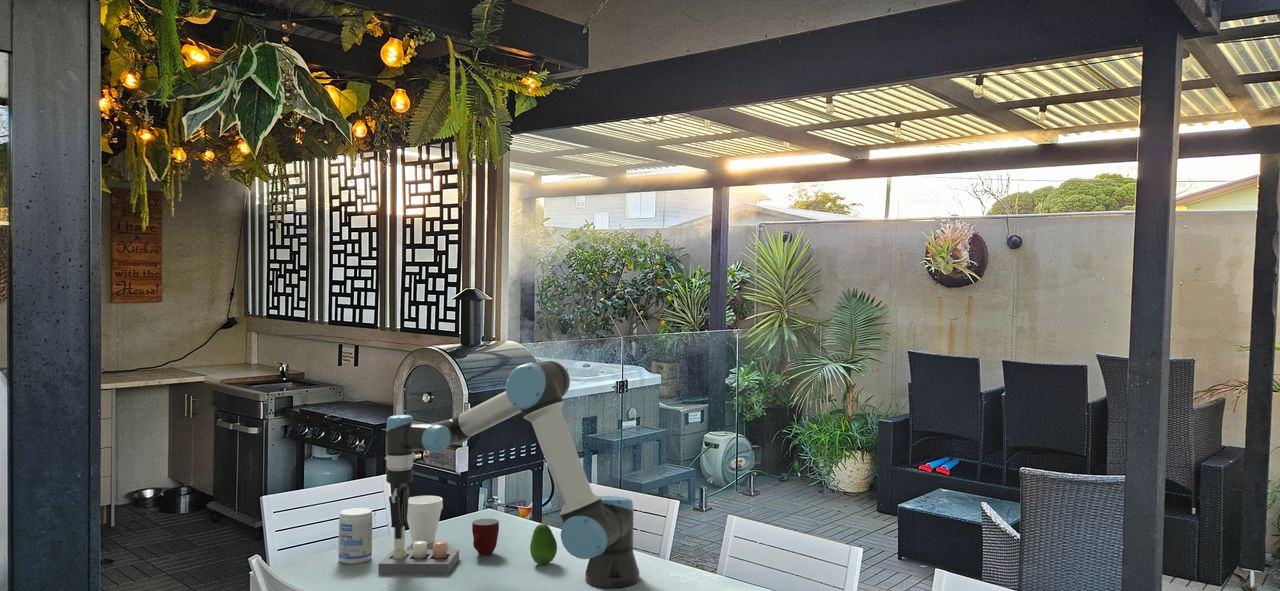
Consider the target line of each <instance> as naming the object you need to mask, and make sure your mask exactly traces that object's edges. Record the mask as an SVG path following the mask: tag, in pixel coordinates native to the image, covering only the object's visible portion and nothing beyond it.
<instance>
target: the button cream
mask: <svg viewBox="0 0 1280 591" xmlns="http://www.w3.org/2000/svg"><path fill="white" fill-rule="evenodd" d="M427 545H428V544H427V542H426V541H416V542H414V543H413V542H412V550H413V558H417V559H419V558H425V557H427V550H428V546H427Z"/></svg>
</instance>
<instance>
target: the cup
mask: <svg viewBox="0 0 1280 591" xmlns="http://www.w3.org/2000/svg"><path fill="white" fill-rule="evenodd" d="M443 503H444V502H443V498H442V497H441V496H438V495H417V496H410V497H409V499H408V514H407V521H406V522H407V523H408V525H407V526H408V528H409V532H410V537H411V542H412V544H413V543H414V542H416V541H426V542H427V545H430V544H433V543H434V542H435V540H436V534H437V532H438V528H439V527H438V526H439V521H440V519H441V518H440V517H441V514H442V513H441V512H442V510H443V508H444V506H443Z"/></svg>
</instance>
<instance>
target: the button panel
mask: <svg viewBox="0 0 1280 591" xmlns="http://www.w3.org/2000/svg"><path fill="white" fill-rule="evenodd" d="M459 561H460V549H447V557H446V558H441V559H436V558H433V549H427V557H425V558H419V559H417V558H413V549H407V558H406V559H393V549H392V550H391V551H390V552H389V553H388V554H386V555H385V557H384V558H382V559H381V560H380V561H379V562H378V564H377V565H378V566H377V568H378V571H377V572H378V575H449V574H450V572H451V571H452V569H453V570H454V567H455V566H456V564H458V562H459Z"/></svg>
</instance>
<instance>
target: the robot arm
mask: <svg viewBox="0 0 1280 591" xmlns="http://www.w3.org/2000/svg"><path fill="white" fill-rule="evenodd" d="M570 381H571V379H570V374H569V372H568V370H567V368H565V366H564V365H562V364H561V363H559V362H558V361H553V360H545V361H537V362H528V363H523V364H521V365H518V366H516V367H515V368H514V369H513V370H512V371H511V372H510V374H509V375H508V376H507V380H506V382H505V383H506V384H505V391H504V392H501V393H499V394H497V395H495V396H493V397H491V398H489V399H487V400H486V401H483V402H482V403H479V404H478V405H475V406H474V407H471V408H470V409H467V410H465V411H463V412H462V413H460V414H458V415H456V416H454V417H452V418H449V419H446V420H442V421H438V422H433V423H432V422H431V423H415V422H414V418H413V416H412V415H409V414H397V415H391V416H389V417H388V418H387V420H386V428H385V429H386V430H385V433H386V434H385V435H386V436H385V437H386V456H385V457H384V460H385V461H386V468H387V470H386V472H385V475H386V477H385V478H386V479H385V481H386V482H387V483H388V484H391V485H392V488H391V489H390V496H388V501H389V508H390V518H391V519H390V520H391V523H390V524H391V525H390V527H391V528H393V533H394V534H393V539H394V540H393V545H394V546H393V549H404V548H406V544H405V542H406V526H409V525H408V521H407V514H408V499H409V498H410V497H409V496H410V491H411V489H410V487H408V483H411V482H413V479H414V478H413V477H414V476H413V475H414V473H413V472H414V469H413V467H414V450H416V451H427V452H431V453H434V452H443V451H445V450H446V449H447V448H448V447H449V446H451V445H455V444H461V443H463V442H464V443H465V442H466V441H467V440H470V438H471V437H472V436H474V435H476V434H479V433H481V432H483V431H485V430H487V429H489V428H491V427H493V426H496V425H497V424H499V423H501V422H503V421H506V420H507V419H510V418H512V417H514V416H515V415H518V414H522V417H523V419H525V420H526V421H528V422H530V423H531V425H532V427H533V430H534V433H535V435H536V439H537V441H538V443H539V447H540V449H541V451H542V454H543V457H544V460H545V462H546V465H547V467H548V470H549V472H550V475H551V478H552V480H553V483H554V485H555V488H556V491H557V494H558V497H559V499H560V501H561V505H562V508H561V510H560V513H559V515H560V519H561V520H562V523H563V524H562V527H561V530H560V539H561V540H560V541H561V542H562V546H563V547H564V548H565V550H566V551H567V553H569V554H570V555H571V556H573V557H575V558H577V559H581V560H588V563H587V567H586V569H585V572H584V573H585V577H584V578H585V582H586V583H587V584H588V585H591V586H595V587H597V588H606V589H607V588H609V589H615V588H617V589H619V588H624V587H629V586H632V585H633V586H634V585H635V584H637V583H638V582H639V581H640V569H639V567H638V563H637V560H636V557H635V553H634V512H635V510H634V505H633V504H634V502H633V500H632V499H631V498H629V497H624V496H619V495H618V496H617V495H615V496H614V495H596V494H594V492H593V491H592V490H593V489H592V488H591V484H590V482H589V480H588V478H587V475H586V471H585V469H584V467H583V464H582V462H581V459H580V457H579V455H578V452H577V449H576V446H575V443H574V441H573V438H572V436H571V433H570V431H569V428H568V426H567V423H566V420H565V418H564V414H563V412H562V408H563V406H564V403H565V402H564V400H563V398H564V397H565V395H566V394H567V393H568V390H569V388H570V384H571V382H570Z"/></svg>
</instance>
